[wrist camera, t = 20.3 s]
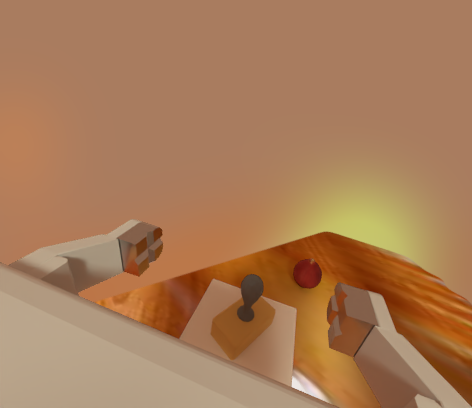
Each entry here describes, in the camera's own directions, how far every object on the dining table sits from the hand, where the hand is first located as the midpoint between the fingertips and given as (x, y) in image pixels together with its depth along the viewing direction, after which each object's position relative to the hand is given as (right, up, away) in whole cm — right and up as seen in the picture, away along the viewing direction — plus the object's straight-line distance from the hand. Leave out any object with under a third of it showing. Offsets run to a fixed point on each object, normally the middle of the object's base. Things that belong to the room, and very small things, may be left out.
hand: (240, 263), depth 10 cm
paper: (+1, -19, +28) cm, 34 cm away
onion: (+15, -16, +39) cm, 45 cm away
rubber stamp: (+1, -19, +28) cm, 34 cm away
